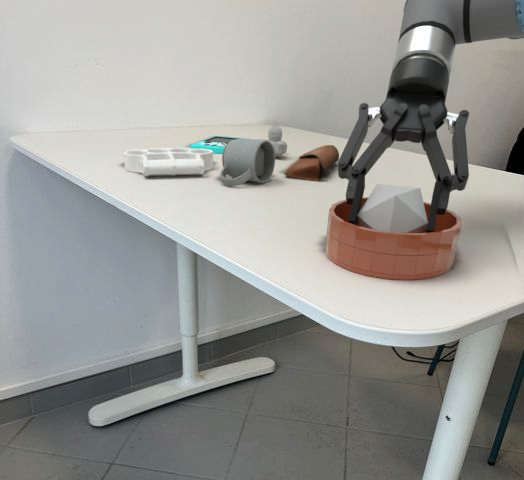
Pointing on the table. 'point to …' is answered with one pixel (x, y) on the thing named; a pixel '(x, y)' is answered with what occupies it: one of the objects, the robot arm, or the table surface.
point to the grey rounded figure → (277, 140)
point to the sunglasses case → (314, 163)
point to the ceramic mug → (247, 161)
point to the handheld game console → (214, 144)
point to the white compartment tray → (168, 161)
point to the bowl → (391, 246)
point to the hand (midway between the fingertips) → (389, 231)
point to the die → (394, 210)
